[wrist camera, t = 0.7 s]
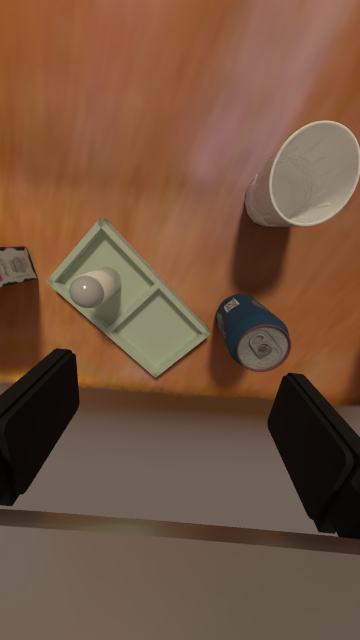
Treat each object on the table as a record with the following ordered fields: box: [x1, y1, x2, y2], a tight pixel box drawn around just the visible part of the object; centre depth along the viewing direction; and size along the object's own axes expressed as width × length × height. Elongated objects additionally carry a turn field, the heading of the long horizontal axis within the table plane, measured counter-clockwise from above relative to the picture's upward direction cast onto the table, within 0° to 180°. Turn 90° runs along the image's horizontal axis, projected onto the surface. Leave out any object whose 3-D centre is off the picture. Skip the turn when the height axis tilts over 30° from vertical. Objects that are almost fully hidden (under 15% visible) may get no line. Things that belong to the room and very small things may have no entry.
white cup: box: [245, 121, 360, 227], centre depth 23 cm, size 8×8×10 cm
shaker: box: [69, 267, 121, 308], centre depth 27 cm, size 4×4×9 cm
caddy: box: [46, 218, 210, 378], centre depth 32 cm, size 22×12×2 cm, turn 42°
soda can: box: [216, 294, 291, 372], centre depth 28 cm, size 7×7×12 cm
